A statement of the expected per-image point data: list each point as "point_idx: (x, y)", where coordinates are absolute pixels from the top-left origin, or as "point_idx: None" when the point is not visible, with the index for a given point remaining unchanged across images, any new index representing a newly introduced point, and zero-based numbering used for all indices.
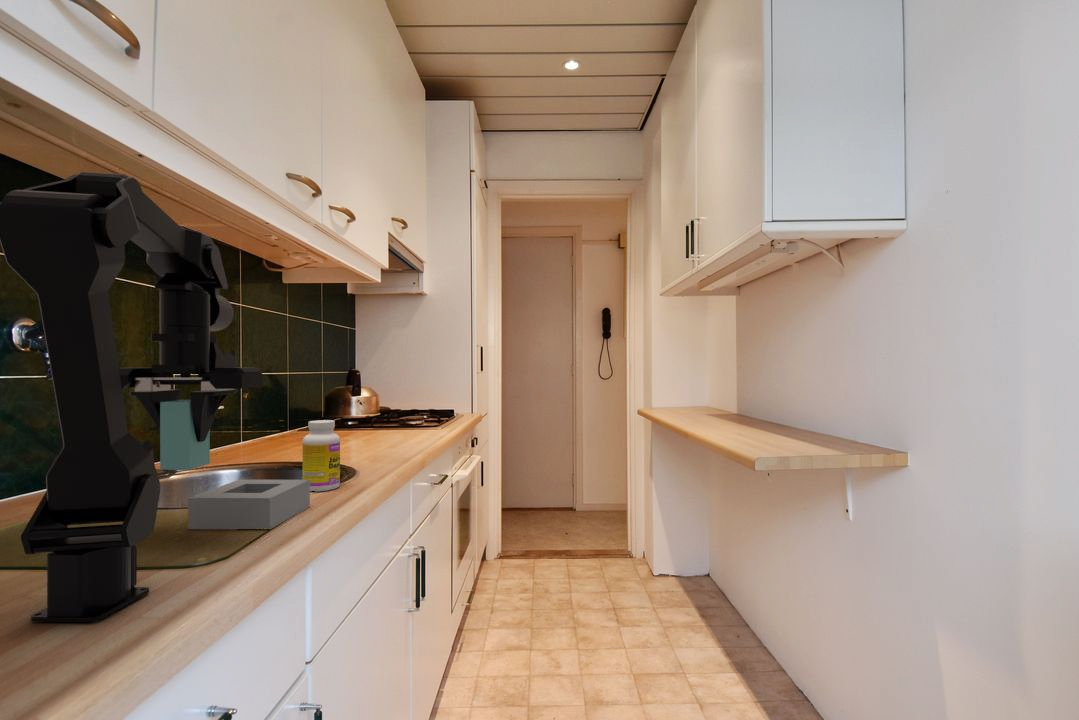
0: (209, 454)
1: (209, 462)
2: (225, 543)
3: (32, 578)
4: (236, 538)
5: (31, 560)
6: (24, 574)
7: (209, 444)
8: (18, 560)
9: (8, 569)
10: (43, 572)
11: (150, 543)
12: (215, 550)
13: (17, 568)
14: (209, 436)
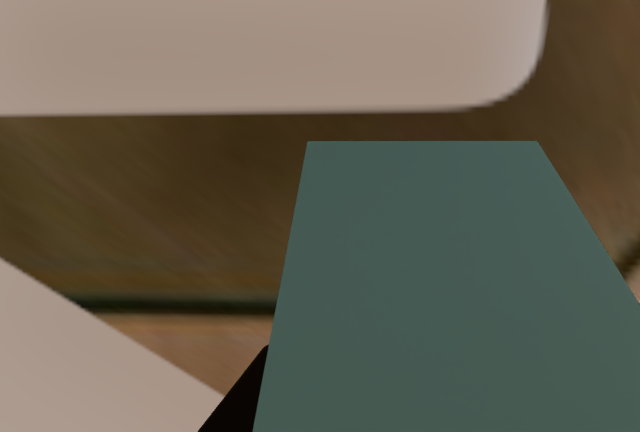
0: (559, 181)
1: (540, 149)
2: (583, 125)
3: (213, 356)
4: (603, 69)
5: (71, 263)
6: (167, 338)
7: (590, 230)
8: (34, 263)
9: (89, 313)
10: (200, 329)
11: (295, 129)
12: (578, 191)
13: (103, 308)
14: (623, 283)
